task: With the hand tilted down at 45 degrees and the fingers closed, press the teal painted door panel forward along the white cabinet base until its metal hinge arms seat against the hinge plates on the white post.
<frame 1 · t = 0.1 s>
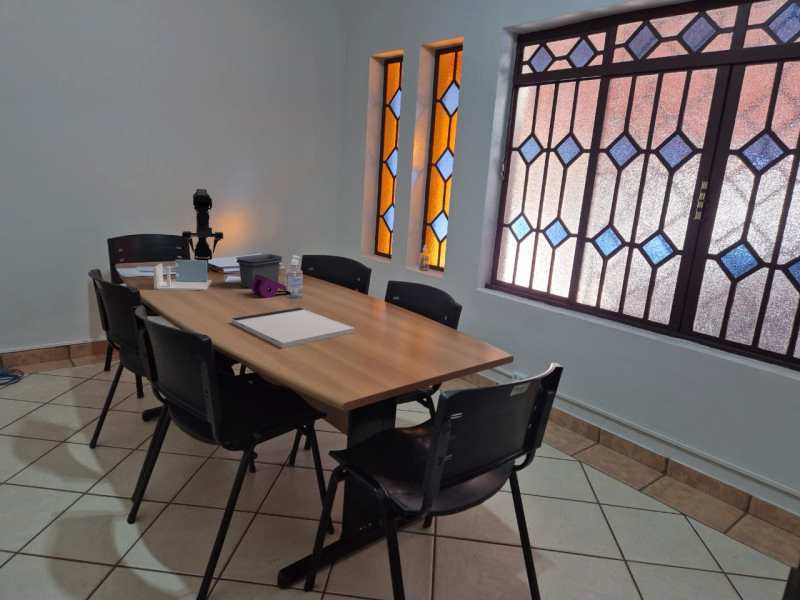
hand: (203, 252, 260), 14 cm above the table, tool pointing down, fingers open, 9 cm apart
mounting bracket: (274, 295, 248), on the table
white flat slab: (292, 329, 199), on the table
cabinet base: (192, 283, 258), on the table
door panel: (191, 271, 255), point 6 cm above the table, slide at 0.0 cm
storage bin: (258, 285, 264), on the table
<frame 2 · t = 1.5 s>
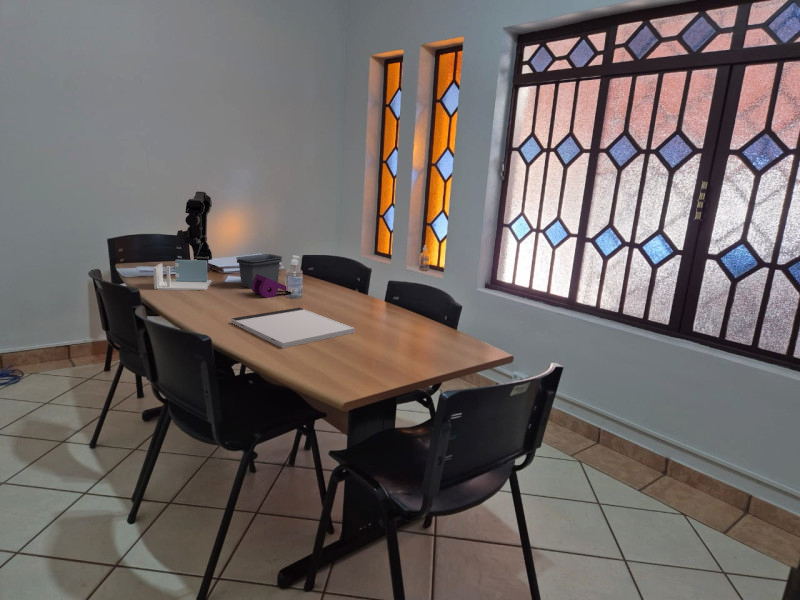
hand: (195, 256, 267), 11 cm above the table, tool pointing down, fingers closed
nothing on the table moved.
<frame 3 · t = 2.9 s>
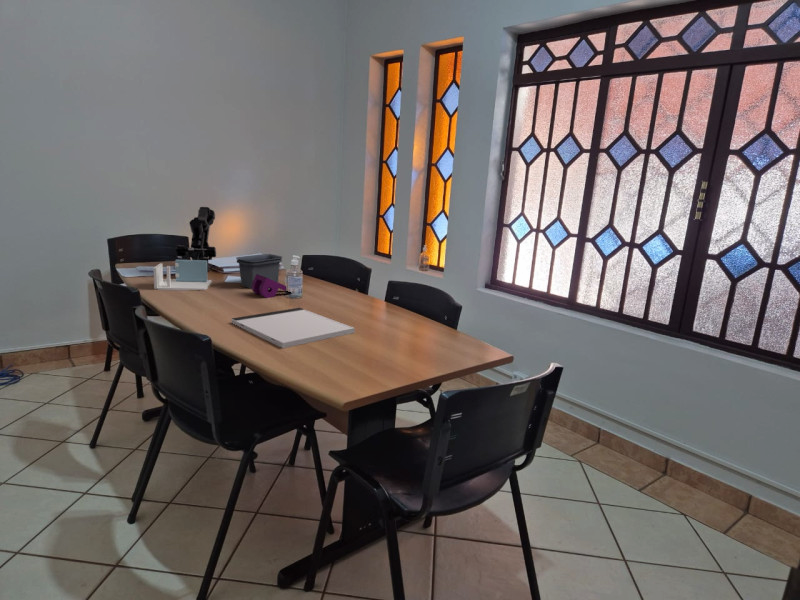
hand: (194, 265, 264), 8 cm above the table, tool tilted 45°, fingers closed
nothing on the table moved.
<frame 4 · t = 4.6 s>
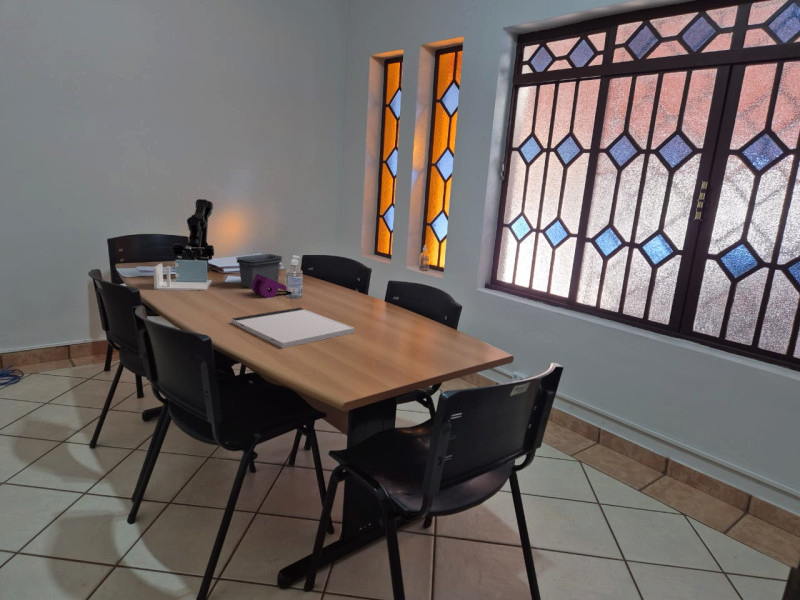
hand: (191, 263, 257), 9 cm above the table, tool tilted 45°, fingers closed, pressing on door panel
door panel: (191, 271, 255), point 6 cm above the table, slide at 0.4 cm, touching gripper
everything else where it was.
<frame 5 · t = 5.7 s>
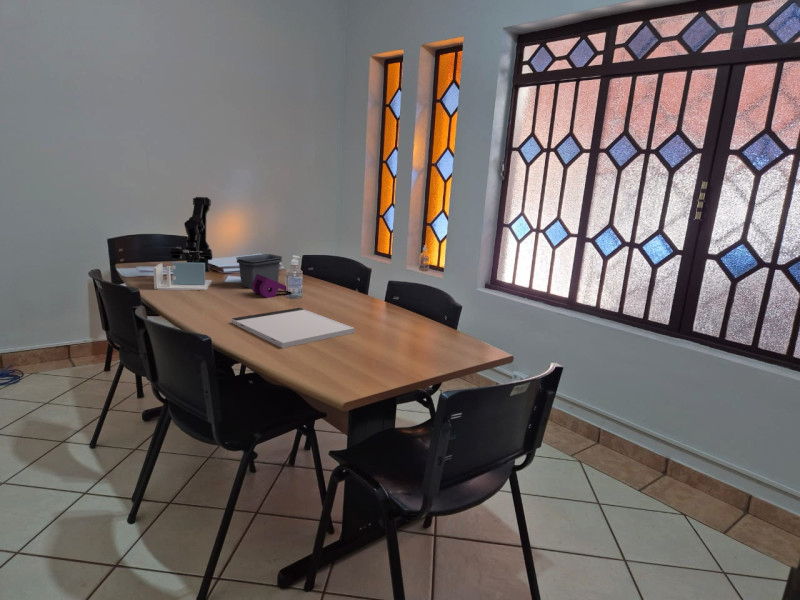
hand: (189, 268, 251), 9 cm above the table, tool tilted 45°, fingers closed
door panel: (188, 273, 249), point 6 cm above the table, slide at 6.6 cm
everything else where it was.
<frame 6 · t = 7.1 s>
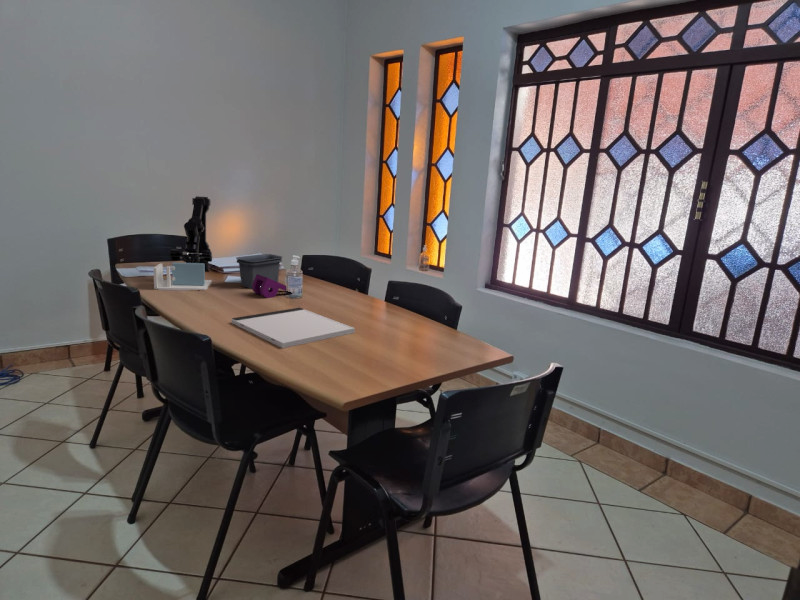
hand: (189, 270, 250), 8 cm above the table, tool tilted 45°, fingers closed
door panel: (188, 274, 248), point 6 cm above the table, slide at 8.0 cm
everything else where it was.
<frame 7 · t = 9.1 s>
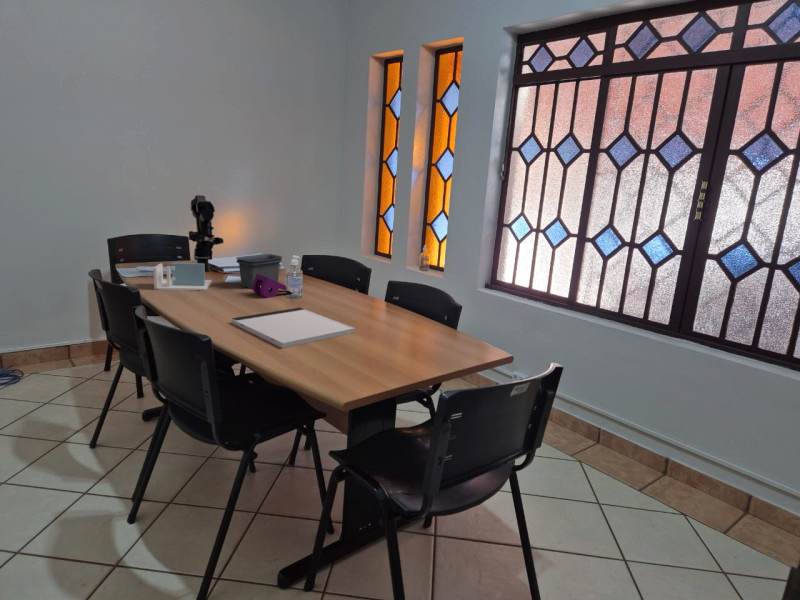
hand: (207, 255, 267), 12 cm above the table, tool tilted 20°, fingers closed
nothing on the table moved.
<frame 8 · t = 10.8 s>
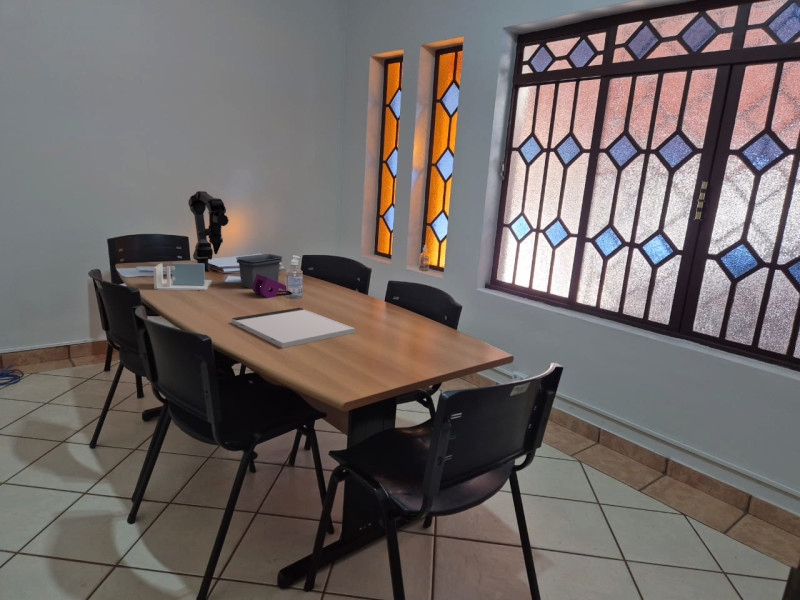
hand: (215, 254, 272), 12 cm above the table, tool pointing down, fingers closed
nothing on the table moved.
at the end: door panel slide at 8.0 cm; door panel moved 8.0 cm from its start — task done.
